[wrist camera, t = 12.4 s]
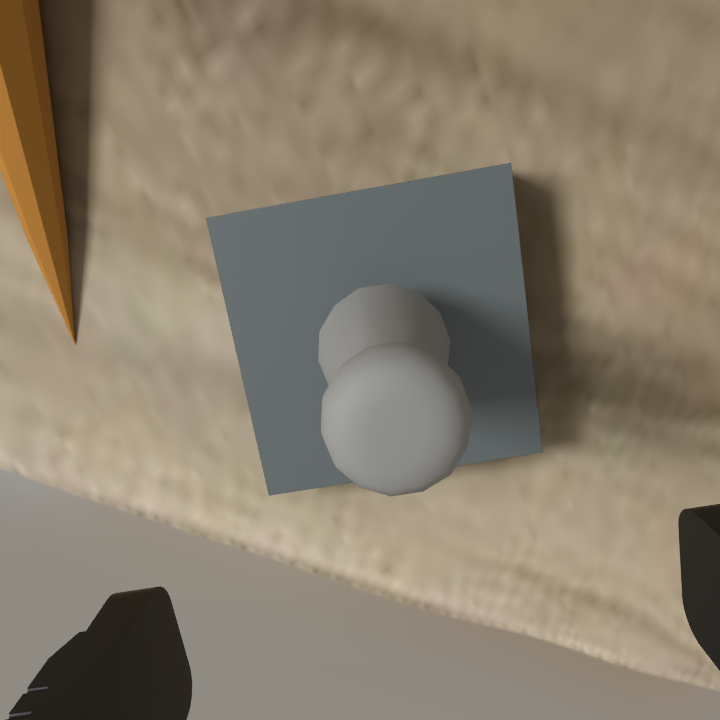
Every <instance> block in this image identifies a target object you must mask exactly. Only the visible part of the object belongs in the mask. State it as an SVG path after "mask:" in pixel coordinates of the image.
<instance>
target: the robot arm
mask: <svg viewBox="0 0 720 720" xmlns="http://www.w3.org/2000/svg"><path fill="white" fill-rule="evenodd" d="M679 545H680V563H681V581H682V598H683V605H684V610H685V614H686V617H687V620H688V623H689V625H690V628H691V630H692V632H693V634H694V636H695V638H696V640H697V641H698V643H699V644H700V646H701V647H702V648H703V650H704V651H705V652H706V654H707V655H708V656H709V657H710V659H711V660H712V661H713V663H714V664H715V665H716V666H717V668H718V669H719V670H720V504H716V505H710V506H703V507H696V508H690V509H684V510H683V511H682V512H681V513H680V516H679ZM191 697H192V677H191V671H190V666H189V662H188V659H187V656H186V652H185V648H184V645H183V641H182V638H181V634H180V631H179V627H178V624H177V620H176V617H175V613H174V610H173V606H172V603H171V599H170V596H169V595H168V592H167V591H166V590H165V589H164V588H163V587H154V588H147V589H141V590H134V591H127V592H120V593H115V594H112V595H111V596H110V597H109V598H108V599H107V601H106V602H105V604H104V605H103V607H102V608H101V610H100V611H99V613H98V614H97V616H96V617H95V619H94V620H93V622H92V623H91V625H90V626H89V627H88V629H87V631H84V632H79V633H78V634H77V635H75V636H74V637H73V638H72V639H71V640H70V641H68V642H67V643H66V644H65V645H64V646H63V647H62V648H60V649H59V650H58V651H57V652H56V653H55V654H53V655H52V656H51V657H50V658H49V659H48V660H47V662H46V663H45V665H44V666H43V667H42V669H41V670H40V671H39V673H38V674H37V675H36V677H35V678H34V680H33V681H32V682H31V684H30V685H29V687H28V692H27V694H23V695H22V696H21V698H20V699H19V701H18V702H17V703H16V705H15V706H14V707H13V709H12V710H11V712H10V713H9V714H10V716H9V719H7V720H186V719H187V716H188V713H189V709H190V705H191Z"/></svg>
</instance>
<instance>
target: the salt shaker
mask: <svg viewBox="0 0 720 720" xmlns="http://www.w3.org/2000/svg"><path fill="white" fill-rule="evenodd" d="M450 341H451V340H450V338H449V335H448V332H447V330H446V327H445V324H444V322H443V319H442V316H441V314H440V312H439V311H438V310H437V309H436V308H435V307H433V306H432V305H431V304H430V303H429V302H428V301H427V300H426V299H425V298H424V297H423V296H422V295H421V294H420V293H419V292H416V291H412V290H409V289H406V288H402V287H399V286H396V285H392V284H383V285H377V286H370V287H364V288H359V289H357V290H356V291H354V292H353V293H351V294H350V295H349V296H347V297H346V298H344V299H343V300H341V301H340V302H339V303H337V304H336V305H334V307H333V309H332V311H331V312H330V314H329V316H328V317H327V319H326V321H325V323H324V324H323V326H322V328H321V330H320V331H319V356H318V361H319V363H320V366H321V368H322V371H323V373H324V376H325V378H326V380H327V383H328V385H329V386H328V388H327V389H326V391H325V393H324V395H323V397H322V413H321V433H322V436H323V439H324V441H325V444H326V446H327V448H328V451H329V453H330V455H331V458H332V460H333V463H334V465H335V467H336V468H337V469H338V470H340V471H341V472H342V473H343V474H344V475H346V476H347V477H348V478H349V479H351V480H352V481H353V482H354V483H355V484H357V485H358V486H359V487H361V488H364V489H368V490H371V491H374V492H378V493H381V494H385V495H388V496H396V495H403V494H409V493H416V492H422V491H425V490H426V489H428V488H429V487H431V486H433V485H434V484H436V483H438V482H439V481H441V480H443V479H444V478H446V477H448V476H449V475H451V473H452V472H453V470H454V469H455V467H456V465H457V464H458V462H459V461H460V459H461V458H462V456H463V454H464V453H465V451H466V450H467V448H468V442H469V434H470V427H471V419H472V408H471V405H470V402H469V400H468V397H467V395H466V392H465V390H464V387H463V384H462V382H461V379H460V377H459V376H458V375H457V374H456V373H455V372H454V371H453V370H452V369H451V368H450V367H449V366H448V359H449V350H450Z"/></svg>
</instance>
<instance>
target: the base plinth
mask: <svg viewBox="0 0 720 720" xmlns="http://www.w3.org/2000/svg"><path fill="white" fill-rule="evenodd" d="M206 220H207V225H208V229H209V233H210V238H211V242H212V247H213V251H214V256H215V260H216V264H217V269H218V273H219V278H220V282H221V286H222V291H223V295H224V300H225V304H226V308H227V313H228V317H229V322H230V326H231V331H232V335H233V339H234V344H235V348H236V353H237V357H238V361H239V366H240V370H241V375H242V379H243V383H244V388H245V392H246V397H247V401H248V406H249V410H250V414H251V419H252V423H253V428H254V432H255V436H256V441H257V445H258V450H259V454H260V459H261V463H262V467H263V472H264V476H265V481H266V485H267V489H268V494H269V495H275V494H282V493H288V492H294V491H301V490H307V489H313V488H320V487H326V486H333V485H339V484H345V483H352V482H353V481H352V480H351V479H349V478H348V477H347V476H346V475H344V474H343V473H342V472H341V471H340V470H338V469H337V468H336V467H335V465H334V463H333V460H332V458H331V455H330V453H329V451H328V448H327V446H326V444H325V441H324V439H323V436H322V433H321V413H322V397H323V395H324V393H325V391H326V389H327V388H328V386H329V385H328V383H327V380H326V378H325V376H324V373H323V371H322V368H321V366H320V363H319V361H318V356H319V331H320V330H321V328H322V326H323V324H324V323H325V321H326V319H327V317H328V316H329V314H330V312H331V311H332V309H333V307H334V305H336V304H337V303H339V302H340V301H341V300H343V299H344V298H346V297H347V296H349V295H350V294H351V293H353V292H354V291H356V290H357V289H359V288H364V287H370V286H377V285H383V284H392V285H396V286H399V287H402V288H406V289H409V290H412V291H416V292H419V293H420V294H421V295H422V296H423V297H424V298H425V299H426V300H427V301H428V302H429V303H430V304H431V305H432V306H433V307H435V308H436V309H437V310H438V311H439V312H440V314H441V316H442V319H443V322H444V324H445V327H446V330H447V332H448V335H449V338H450V340H451V341H450V350H449V359H448V366H449V367H450V368H451V369H452V370H453V371H454V372H455V373H456V374H457V375H458V376H459V377H460V379H461V382H462V384H463V387H464V390H465V392H466V395H467V397H468V400H469V402H470V405H471V408H472V419H471V427H470V434H469V442H468V448H467V450H466V451H465V453H464V454H463V456H462V458H461V459H460V461H459V462H458V464H457V465H456V466H459V465H466V464H472V463H478V462H485V461H491V460H498V459H504V458H510V457H517V456H523V455H529V454H536V453H542V452H543V450H542V441H541V432H540V423H539V414H538V405H537V395H536V386H535V377H534V368H533V359H532V350H531V340H530V331H529V322H528V313H527V304H526V295H525V285H524V276H523V267H522V258H521V249H520V240H519V231H518V221H517V212H516V203H515V194H514V185H513V176H512V166H511V163H508V164H502V165H497V166H491V167H486V168H480V169H475V170H469V171H463V172H458V173H452V174H447V175H441V176H436V177H430V178H425V179H419V180H414V181H408V182H402V183H397V184H391V185H386V186H380V187H375V188H369V189H364V190H358V191H353V192H347V193H341V194H336V195H330V196H325V197H319V198H314V199H308V200H303V201H297V202H292V203H286V204H280V205H275V206H269V207H264V208H258V209H253V210H247V211H242V212H236V213H231V214H225V215H219V216H214V217H208V218H206Z"/></svg>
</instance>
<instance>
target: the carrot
mask: <svg viewBox="0 0 720 720" xmlns="http://www.w3.org/2000/svg"><path fill="white" fill-rule="evenodd" d="M0 171H1V173H2V176H3V178H4V181H5V184H6V186H7V189H8V191H9V194H10V196H11V199H12V201H13V204H14V207H15V209H16V212H17V214H18V217H19V219H20V222H21V224H22V227H23V230H24V232H25V235H26V237H27V240H28V242H29V244H30V246H31V249H32V251H33V253H34V255H35V257H36V260H37V262H38V264H39V266H40V268H41V271H42V273H43V275H44V277H45V279H46V282H47V284H48V286H49V288H50V291H51V293H52V295H53V297H54V299H55V302H56V304H57V306H58V308H59V310H60V313H61V315H62V317H63V319H64V321H65V324H66V326H67V328H68V330H69V332H70V335H71V337H72V339H73V341H74V344H75V335H74V321H73V307H72V292H71V278H70V263H69V249H68V235H67V227H66V219H65V211H64V203H63V195H62V187H61V179H60V171H59V163H58V155H57V147H56V139H55V131H54V123H53V115H52V106H51V98H50V90H49V82H48V74H47V66H46V58H45V50H44V42H43V34H42V26H41V18H40V10H39V2H38V0H0Z"/></svg>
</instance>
